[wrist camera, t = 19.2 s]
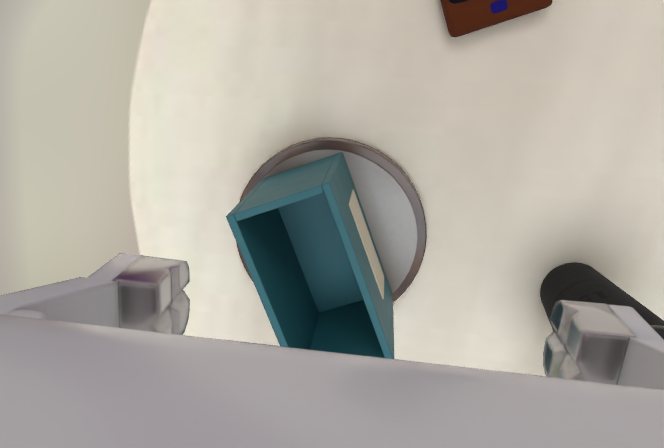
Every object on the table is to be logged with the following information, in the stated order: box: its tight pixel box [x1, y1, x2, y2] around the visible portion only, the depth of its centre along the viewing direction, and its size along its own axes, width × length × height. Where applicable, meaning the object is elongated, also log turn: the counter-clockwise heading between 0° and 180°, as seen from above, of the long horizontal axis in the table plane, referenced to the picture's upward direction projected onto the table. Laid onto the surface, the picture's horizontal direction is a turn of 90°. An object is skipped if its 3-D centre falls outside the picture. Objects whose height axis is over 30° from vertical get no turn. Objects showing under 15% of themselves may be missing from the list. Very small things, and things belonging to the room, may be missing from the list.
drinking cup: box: [540, 263, 664, 340], centre depth 35 cm, size 8×8×20 cm
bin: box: [226, 152, 394, 359], centre depth 39 cm, size 7×12×10 cm, turn 20°
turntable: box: [237, 138, 426, 302], centre depth 44 cm, size 15×15×2 cm
